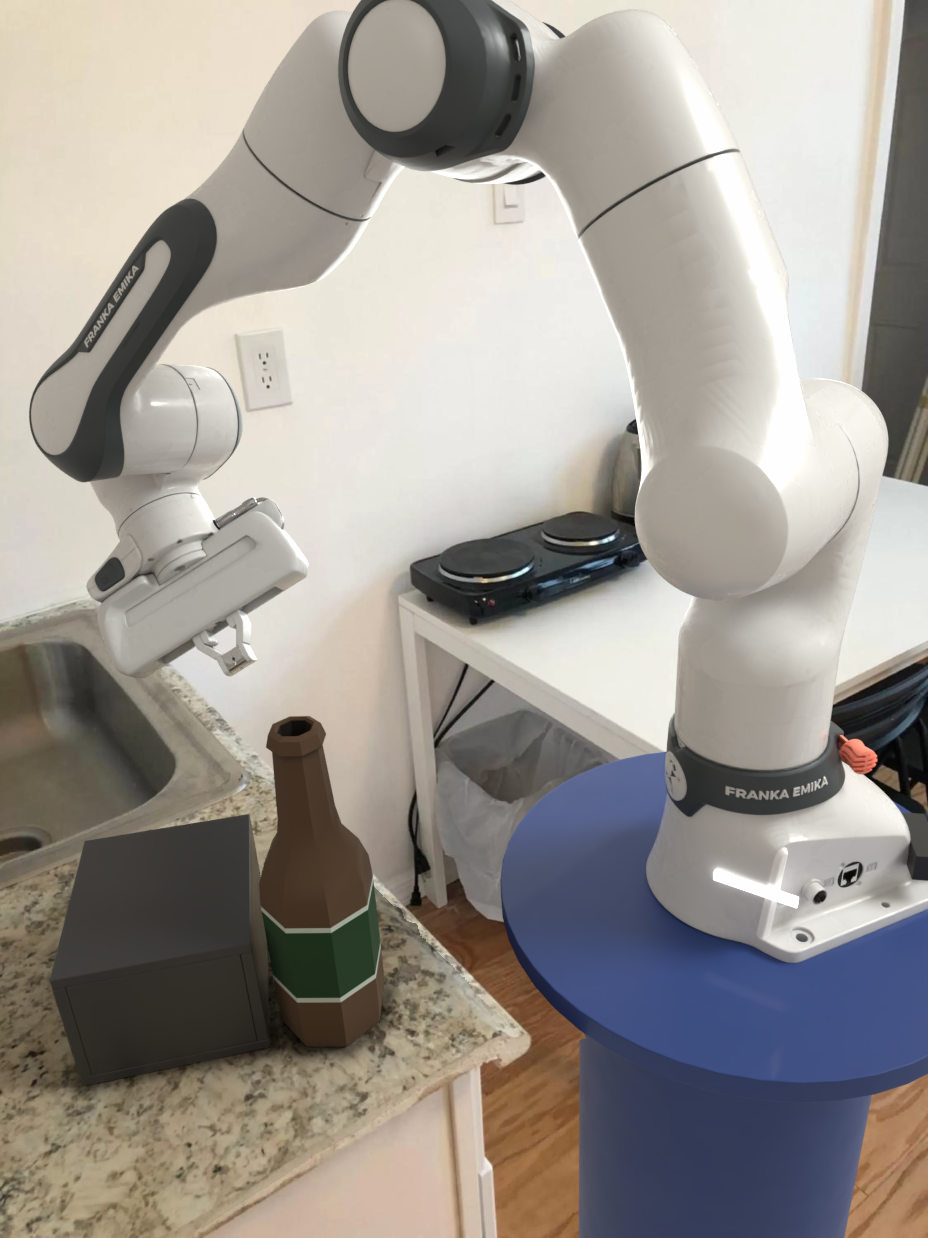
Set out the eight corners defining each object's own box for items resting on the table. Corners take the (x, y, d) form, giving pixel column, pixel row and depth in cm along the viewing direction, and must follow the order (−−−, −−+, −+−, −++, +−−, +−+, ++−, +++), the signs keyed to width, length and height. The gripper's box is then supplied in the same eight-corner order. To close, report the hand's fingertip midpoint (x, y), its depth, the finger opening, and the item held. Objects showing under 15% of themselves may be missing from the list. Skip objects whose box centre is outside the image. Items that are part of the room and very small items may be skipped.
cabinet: (109, 935, 76) (84, 840, 72) (266, 907, 78) (249, 813, 74) (82, 1087, 63) (49, 981, 59) (270, 1048, 65) (250, 943, 61)
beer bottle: (406, 986, 70) (379, 707, 60) (353, 1068, 63) (312, 772, 53) (318, 957, 73) (278, 687, 63) (259, 1032, 66) (204, 746, 56)
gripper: (279, 496, 91) (346, 614, 89) (106, 605, 93) (167, 725, 90) (254, 477, 85) (325, 603, 82) (70, 594, 87) (134, 723, 84)
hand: (241, 668), depth 86 cm, fingers closed
